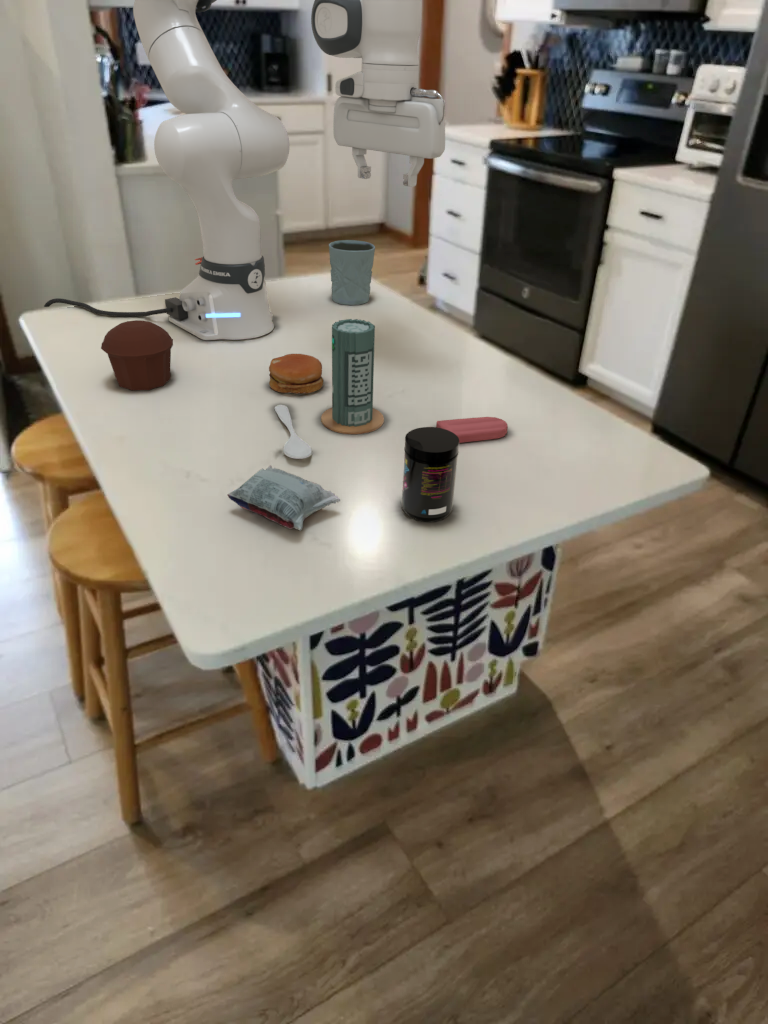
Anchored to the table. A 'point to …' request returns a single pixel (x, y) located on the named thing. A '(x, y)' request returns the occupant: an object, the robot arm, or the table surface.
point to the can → (352, 371)
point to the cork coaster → (369, 427)
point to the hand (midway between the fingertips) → (386, 182)
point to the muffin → (139, 354)
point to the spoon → (292, 437)
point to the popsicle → (475, 428)
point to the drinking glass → (351, 271)
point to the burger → (295, 374)
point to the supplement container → (429, 473)
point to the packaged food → (282, 497)
